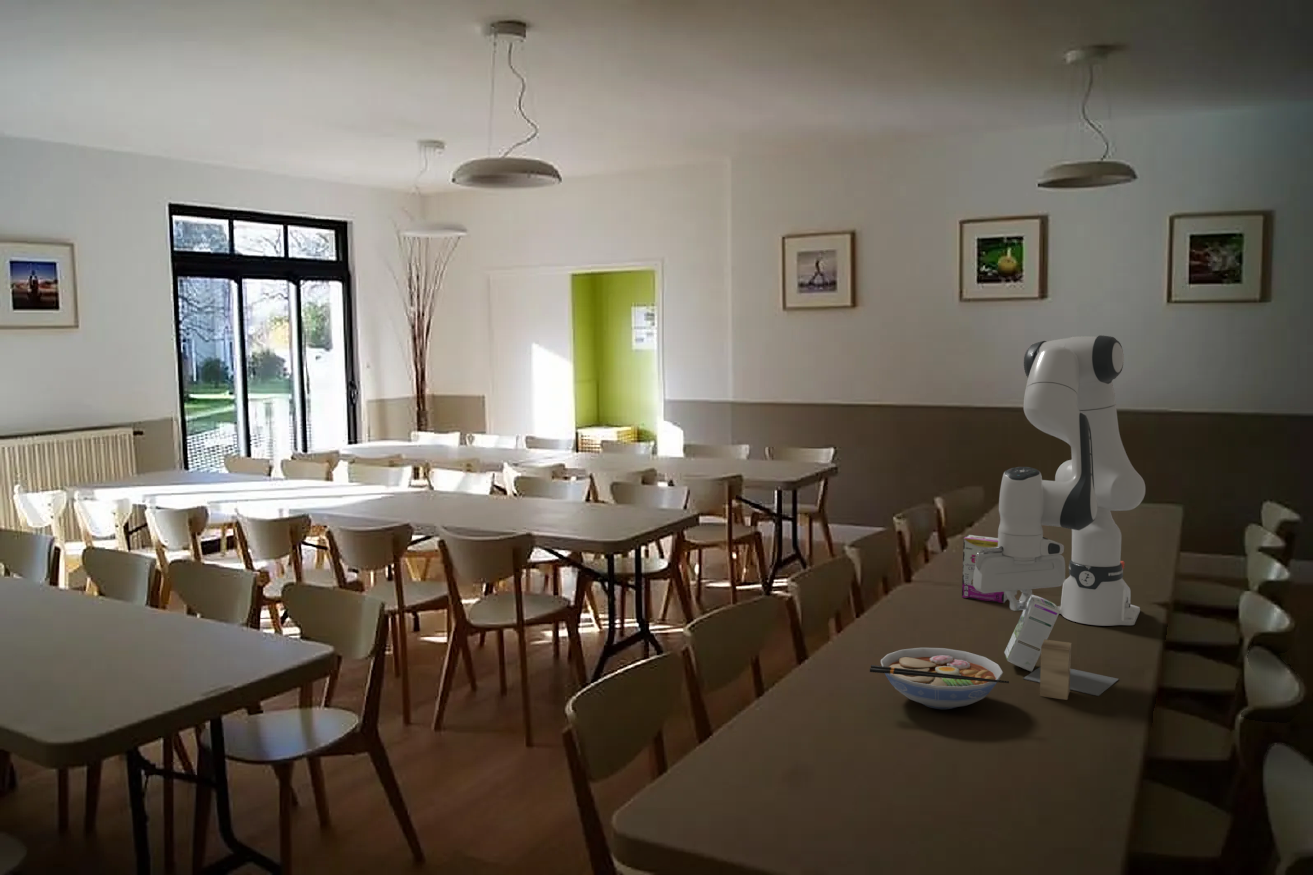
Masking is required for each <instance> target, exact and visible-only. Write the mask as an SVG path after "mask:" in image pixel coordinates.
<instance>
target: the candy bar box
mask: <svg viewBox="0 0 1313 875" xmlns="http://www.w3.org/2000/svg"><path fill="white" fill-rule="evenodd" d="M962 547H963V549H962V580H961V584H962V586H961V598H964V599H970V600H972V599H973V600H978V601H979V600H980V601H985V602H993V603H1000V604H1005V602H1006V601H1008V600H1009V599H1008V597H1007V596H1006V594H1005V591H1004V592H993V593H982V592H980V591H978V590H976V589H975V588H974V586H973V577H974V570H975V565H976V564H975V561H976V554H978V552H979V551H981V550H982V549H983V548H994V547H998V537H991V536H983V535H975V534H974V535H973V534H968V535H966V536H965V537H963V546H962Z"/></svg>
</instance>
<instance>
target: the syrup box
mask: <svg viewBox="0 0 1313 875" xmlns="http://www.w3.org/2000/svg"><path fill="white" fill-rule="evenodd" d="M1059 613H1060V611H1059V609H1058V606H1057V604H1056V603H1055V602H1052V601H1051V600H1048V599H1046V598H1044V597H1041V596H1038V595H1034V594H1032V595H1031V596H1030V598H1029V600H1028V602H1027V609H1026V610H1022V612H1021V615H1020V616H1019V619H1018V622H1017V624H1016V626H1015V628H1014V630H1013V632H1012V634H1011V636H1010V639H1009V640H1008V643H1007V645H1006V648H1005V649H1004V651H1003V653H1004V657H1005V659H1006V661H1007V662H1009V663H1011V664H1012V665H1015V666H1017V667H1020V668H1022V669H1024V670H1026V671H1029V672H1030V673H1032V672H1033V671H1034V668H1035V666H1036V664H1037V662H1038V661H1039V658H1040V657H1041V646H1042V644H1043V641H1044V639H1045V640H1049V637H1050V634H1051V632H1052V630H1053V628H1054V625H1055V623H1056V622H1057V619H1058V617H1059V615H1060V614H1059Z"/></svg>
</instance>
